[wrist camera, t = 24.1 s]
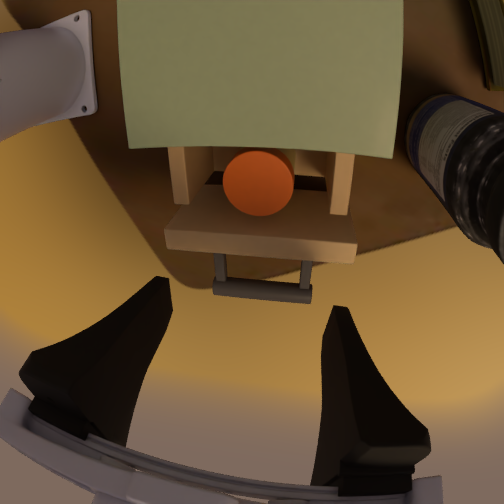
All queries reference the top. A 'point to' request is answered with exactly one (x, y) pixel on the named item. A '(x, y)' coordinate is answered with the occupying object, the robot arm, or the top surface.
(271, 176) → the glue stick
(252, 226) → the drawer
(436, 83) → the top surface
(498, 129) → the pill bottle
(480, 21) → the red hardcover book
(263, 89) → the cabinet
